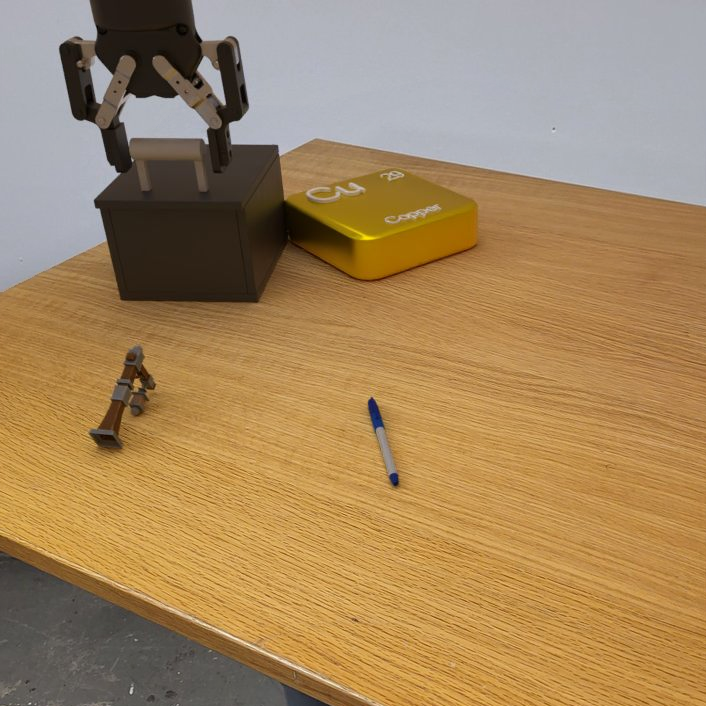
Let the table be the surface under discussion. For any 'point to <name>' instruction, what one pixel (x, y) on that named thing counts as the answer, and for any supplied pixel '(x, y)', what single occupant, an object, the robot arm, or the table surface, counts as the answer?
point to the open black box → (199, 248)
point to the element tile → (381, 223)
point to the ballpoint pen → (383, 441)
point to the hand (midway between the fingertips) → (172, 170)
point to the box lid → (186, 176)
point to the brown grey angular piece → (124, 399)
